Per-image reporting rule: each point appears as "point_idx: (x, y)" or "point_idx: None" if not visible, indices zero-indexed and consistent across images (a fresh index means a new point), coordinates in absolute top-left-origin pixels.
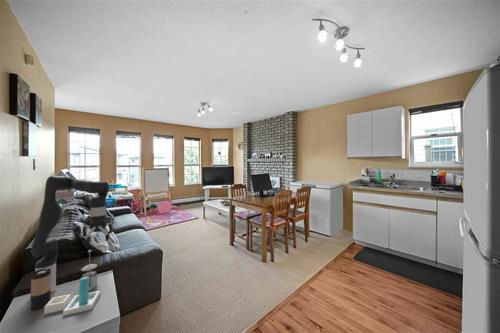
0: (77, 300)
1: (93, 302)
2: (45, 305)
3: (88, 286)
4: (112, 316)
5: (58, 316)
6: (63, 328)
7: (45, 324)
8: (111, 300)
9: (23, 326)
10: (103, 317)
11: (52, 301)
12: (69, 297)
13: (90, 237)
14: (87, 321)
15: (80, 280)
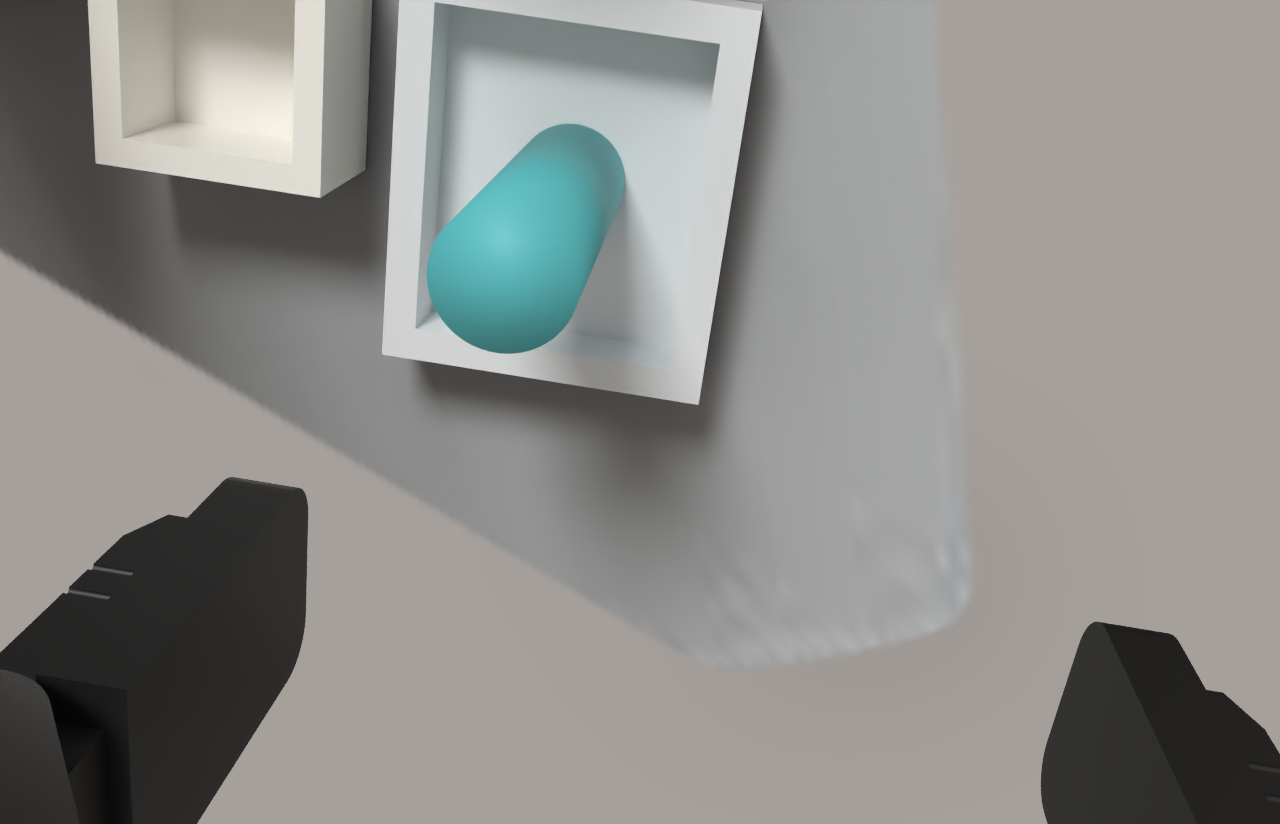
0: (461, 10)
1: (709, 332)
2: (95, 139)
3: (598, 248)
4: (939, 623)
5: (340, 252)
6: (480, 535)
7: (261, 345)
8: (927, 248)
9: (34, 241)
10: (847, 584)
11: (128, 9)
12: (335, 8)
13: (172, 672)
14: (691, 556)
15: (449, 324)
